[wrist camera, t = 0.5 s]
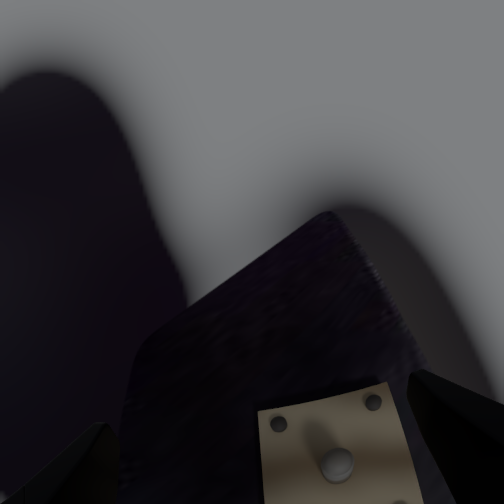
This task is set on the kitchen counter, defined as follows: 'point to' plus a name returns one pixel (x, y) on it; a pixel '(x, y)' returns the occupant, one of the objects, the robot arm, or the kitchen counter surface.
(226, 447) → the kitchen counter surface
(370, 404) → the beige mounting plate
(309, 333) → the kitchen counter surface
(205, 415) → the kitchen counter surface
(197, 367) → the kitchen counter surface
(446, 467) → the robot arm
